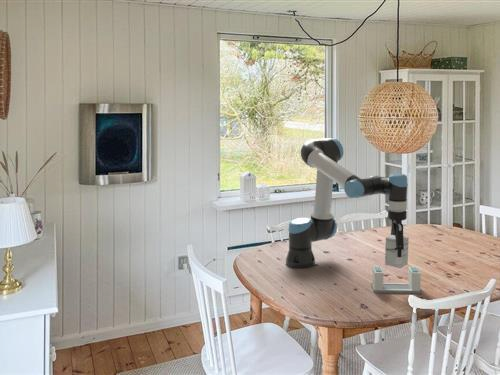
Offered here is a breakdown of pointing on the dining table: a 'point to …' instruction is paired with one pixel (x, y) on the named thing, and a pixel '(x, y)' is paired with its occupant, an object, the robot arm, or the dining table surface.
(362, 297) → the dining table surface
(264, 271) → the dining table surface
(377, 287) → the grey holder stand
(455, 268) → the dining table surface
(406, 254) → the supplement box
